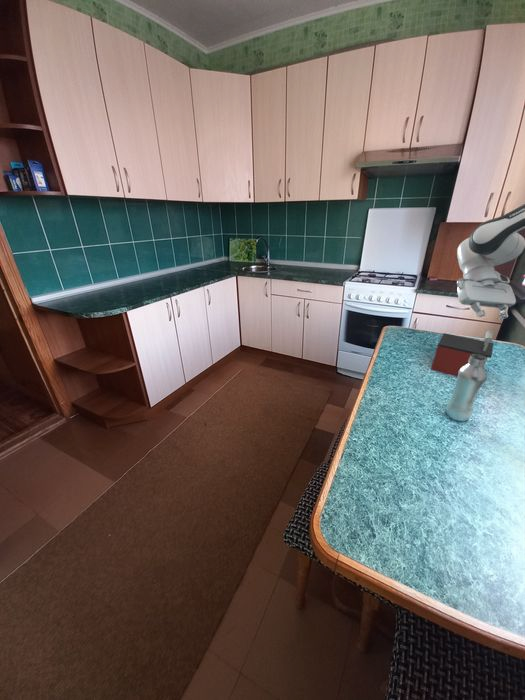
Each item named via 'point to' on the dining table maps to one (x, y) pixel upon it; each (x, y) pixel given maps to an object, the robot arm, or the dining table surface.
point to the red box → (450, 360)
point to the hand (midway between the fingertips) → (493, 317)
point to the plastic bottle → (467, 388)
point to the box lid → (468, 344)
